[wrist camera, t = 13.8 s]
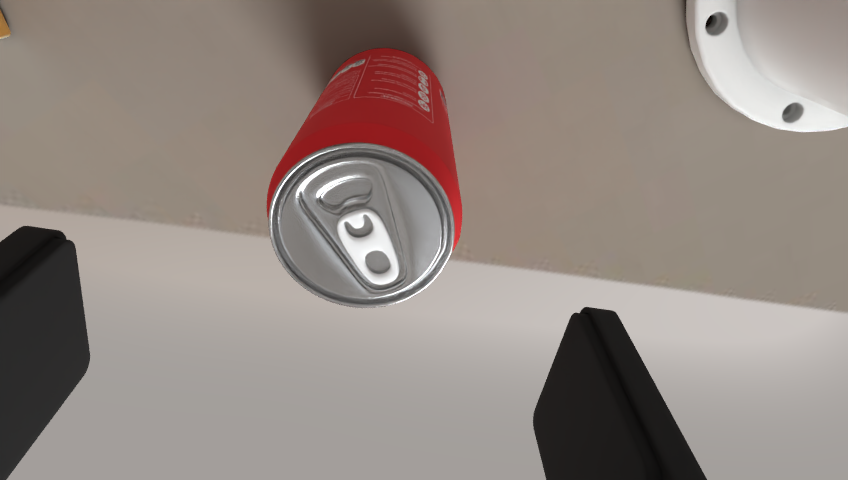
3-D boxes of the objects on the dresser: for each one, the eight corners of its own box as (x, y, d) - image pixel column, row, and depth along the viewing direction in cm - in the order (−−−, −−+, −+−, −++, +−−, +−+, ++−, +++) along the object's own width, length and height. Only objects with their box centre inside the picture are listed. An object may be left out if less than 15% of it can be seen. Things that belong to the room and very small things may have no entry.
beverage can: (420, 23, 23) (420, 100, 12) (461, 136, 25) (491, 281, 15) (307, 70, 24) (218, 178, 13) (357, 175, 26) (315, 337, 16)
